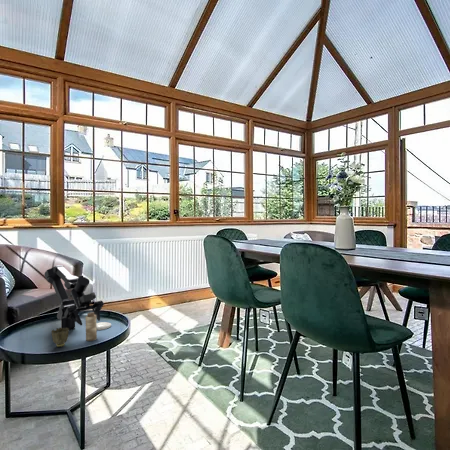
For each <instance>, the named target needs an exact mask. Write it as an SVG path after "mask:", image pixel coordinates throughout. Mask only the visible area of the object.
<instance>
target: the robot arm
mask: <svg viewBox="0 0 450 450" xmlns="http://www.w3.org/2000/svg"><path fill="white" fill-rule="evenodd" d="M43 274H44V278H45V279H46V281H47V282H48V283H49V284H51V285H52V286H53V289H54V292H55V294H56V297H57V298H58V301H59V304H60V305H59V307H58V312H57V314H56V317H57V320H59V321H60V327H61V328H62V329H63V328H66V327H67V328H69V331H72V330H75V328H76V324H78V325H80V326H83V321H82V320H81V317H80V315H79V312H84V311H89V310H91V311H92V312H94V315H96V321H98V322H100V321H101V310H102V308H103V307H104V305H105V303H104V301H103V300H97V301H96V300H95V299H96V298H97V295H96V292H90V293H88V294H85V293H84V292H85V291H86V290H87V288H88V286H89V285H90V279H88V278H87V277H86V276H85V277H84V275H78V276H77V275H73V274H71V272H69V271H68V270H67V269H66V268H65V265H63V264H61V265H58V264H57V265H54V266H52V267H51V268H49V269H46V270H45V272H44V273H43ZM63 283H64V284H63ZM66 290H68V291H69V290H70V295H68V293H67V291H66ZM69 297H72V298H73V299H70V298H69ZM94 300H95V301H94ZM92 301H94V303H93V304H92ZM90 304H91V305H90Z"/></svg>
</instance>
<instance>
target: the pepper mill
mask: <svg viewBox="0 0 450 450" xmlns="http://www.w3.org/2000/svg"><path fill="white" fill-rule="evenodd" d="M96 323H97V318H96V315H94V311H92V312H87V315H85V342H93V341H95V340H97V339H98V335H97V331H98V330H97V325H96Z"/></svg>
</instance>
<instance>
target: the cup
mask: <svg viewBox="0 0 450 450" xmlns="http://www.w3.org/2000/svg"><path fill="white" fill-rule="evenodd" d="M69 332H70V330H69V328H67V327H66V328H63V329H62V328H61V326H60V327H59V328H57V327H56V329H51V337H52V341H53V343H54V344H55V345H56V348H63V347H65V346H66V345H65V344H66V343H67V341H68V339H69Z"/></svg>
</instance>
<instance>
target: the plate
mask: <svg viewBox="0 0 450 450" xmlns="http://www.w3.org/2000/svg"><path fill="white" fill-rule="evenodd" d="M96 325H97V331H103V330H107V329H109V328H111V327H112V323H111V322H106V321H103V322H102V321H101V322H96Z"/></svg>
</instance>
